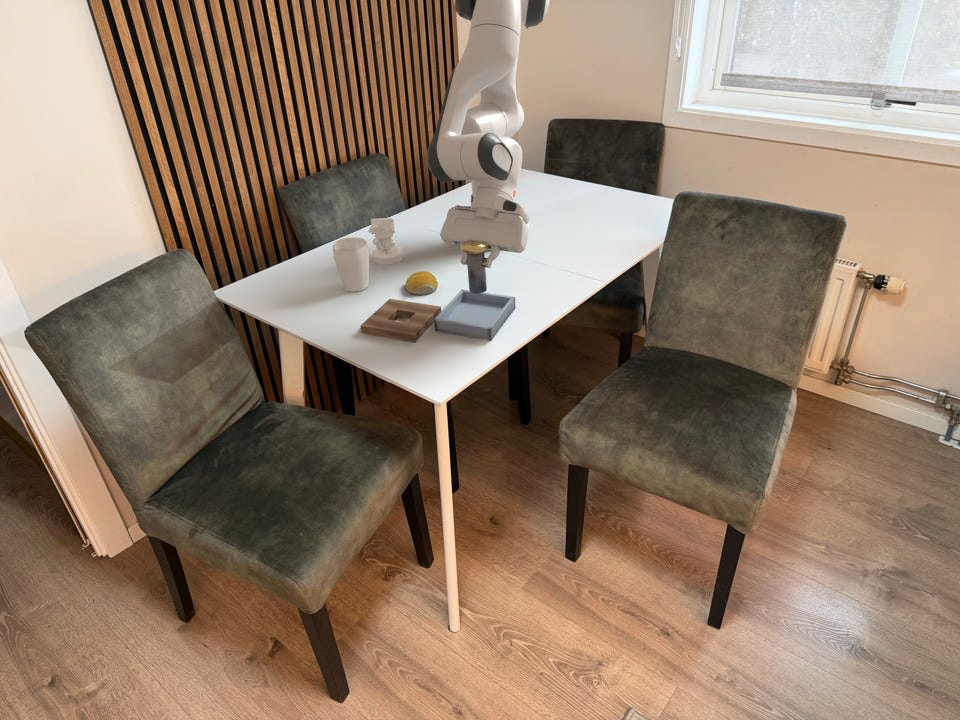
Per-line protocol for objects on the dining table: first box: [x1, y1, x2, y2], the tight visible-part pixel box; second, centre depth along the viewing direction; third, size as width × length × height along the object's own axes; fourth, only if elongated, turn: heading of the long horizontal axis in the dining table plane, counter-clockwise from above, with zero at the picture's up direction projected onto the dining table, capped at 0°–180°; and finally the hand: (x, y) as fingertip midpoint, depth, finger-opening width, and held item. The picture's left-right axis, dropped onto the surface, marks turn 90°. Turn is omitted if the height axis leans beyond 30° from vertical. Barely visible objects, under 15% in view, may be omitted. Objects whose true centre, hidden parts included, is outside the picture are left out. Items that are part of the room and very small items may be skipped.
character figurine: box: [367, 217, 404, 266], centre depth 187 cm, size 9×10×12 cm
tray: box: [433, 289, 516, 341], centre depth 157 cm, size 16×14×3 cm
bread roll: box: [405, 270, 439, 296], centre depth 172 cm, size 8×9×4 cm
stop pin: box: [462, 240, 488, 294], centre depth 150 cm, size 6×6×11 cm
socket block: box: [360, 298, 442, 343], centre depth 157 cm, size 14×14×2 cm
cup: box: [331, 236, 370, 293], centre depth 172 cm, size 9×9×12 cm
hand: (475, 265), depth 149 cm, fingers closed on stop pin, 4 cm apart
